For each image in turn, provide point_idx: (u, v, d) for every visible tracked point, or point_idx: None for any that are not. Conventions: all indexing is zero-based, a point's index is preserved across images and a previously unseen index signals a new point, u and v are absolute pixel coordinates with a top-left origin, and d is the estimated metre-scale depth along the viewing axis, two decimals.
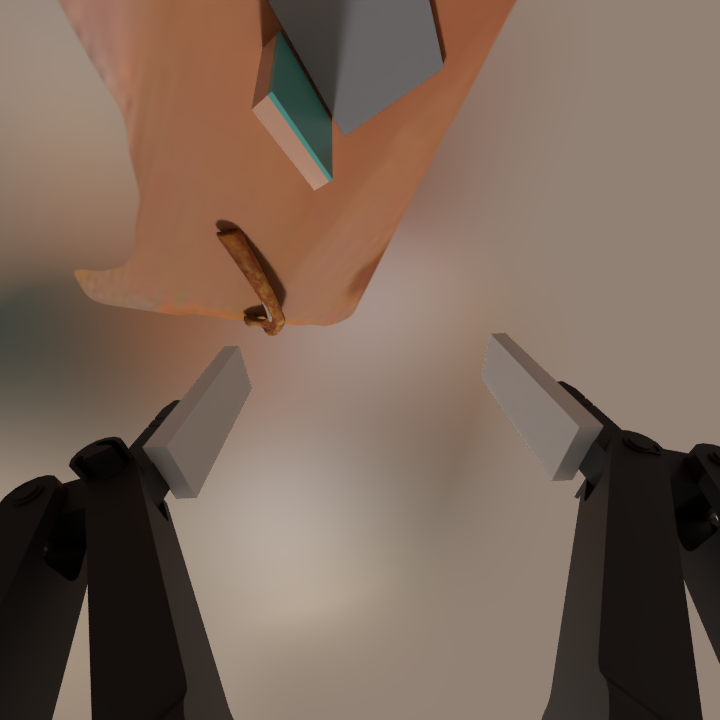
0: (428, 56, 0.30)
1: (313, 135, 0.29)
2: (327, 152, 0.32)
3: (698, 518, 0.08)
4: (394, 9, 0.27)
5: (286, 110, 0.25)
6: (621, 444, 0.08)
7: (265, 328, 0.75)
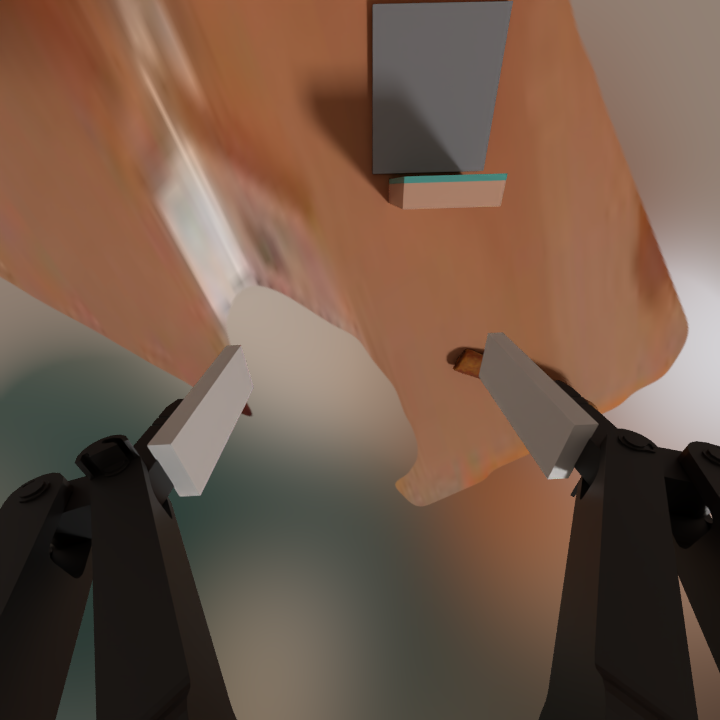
0: (491, 20, 0.26)
1: None
2: None
3: (693, 516, 0.08)
4: (438, 50, 0.27)
5: (423, 176, 0.24)
6: (616, 442, 0.08)
7: None
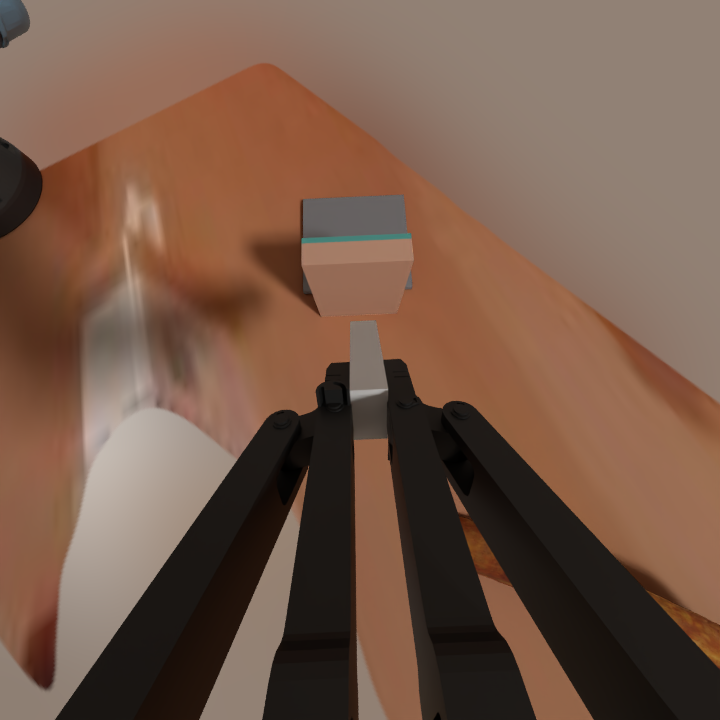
0: (390, 203, 0.36)
1: None
2: None
3: (463, 459, 0.10)
4: (353, 217, 0.35)
5: (322, 238, 0.23)
6: (396, 407, 0.10)
7: None
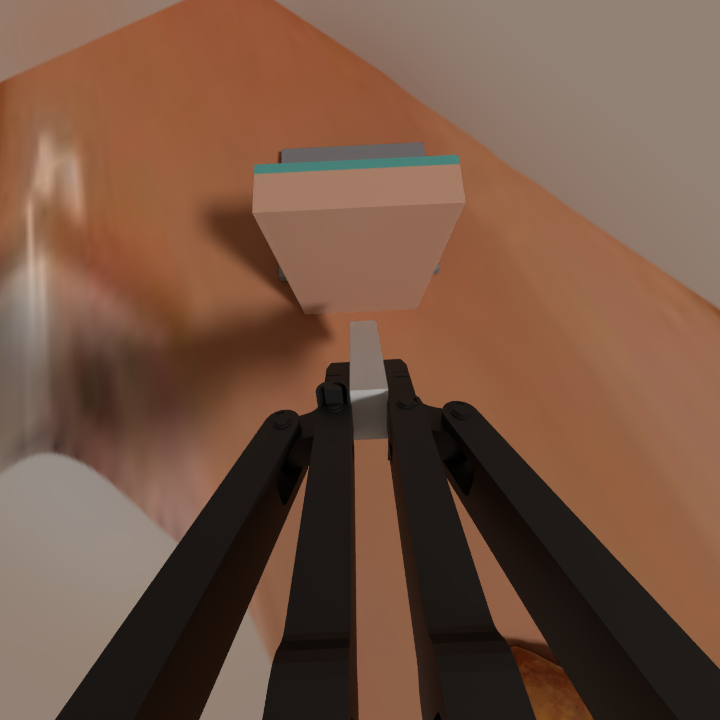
0: (405, 153, 0.25)
1: None
2: None
3: (463, 459, 0.10)
4: None
5: (293, 166, 0.12)
6: (396, 407, 0.10)
7: None
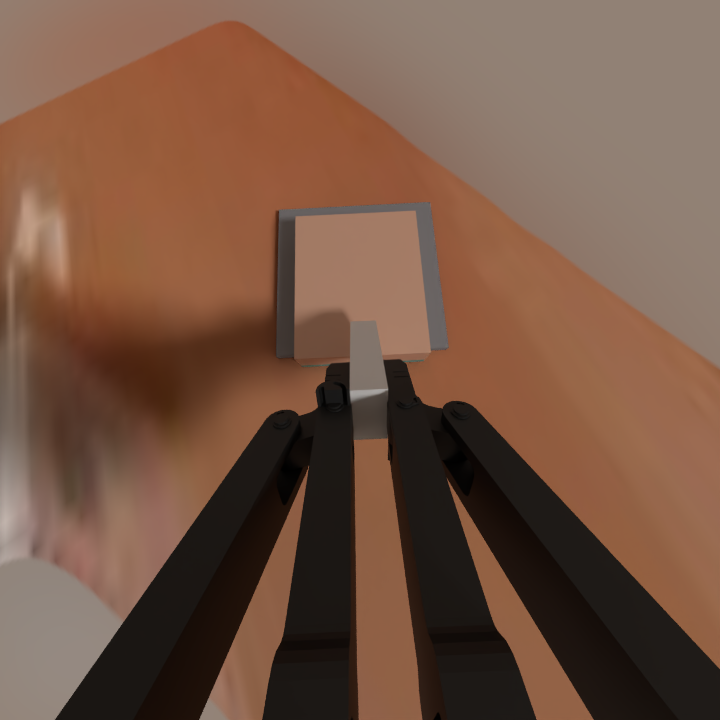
0: None
1: None
2: None
3: (463, 459, 0.10)
4: None
5: None
6: (395, 407, 0.10)
7: None
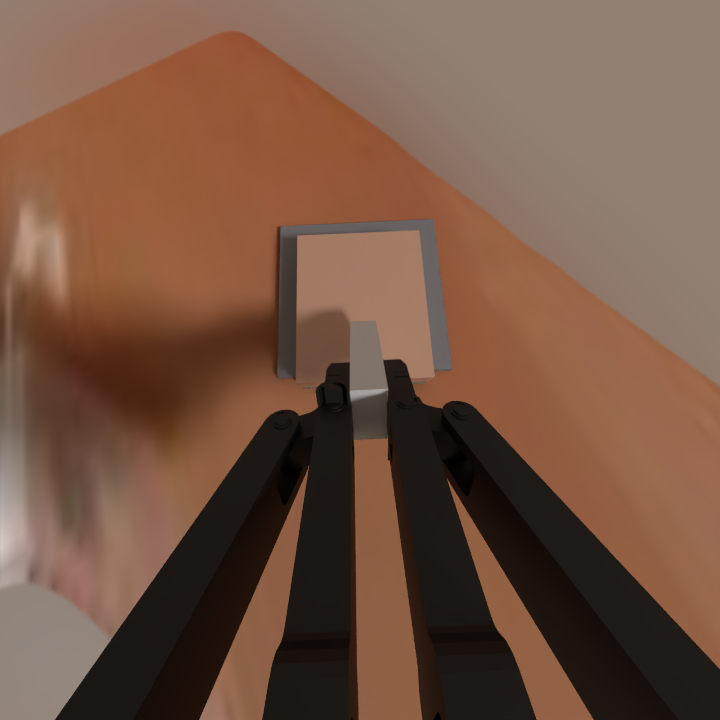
0: None
1: None
2: None
3: (463, 459, 0.10)
4: None
5: None
6: (395, 407, 0.10)
7: None
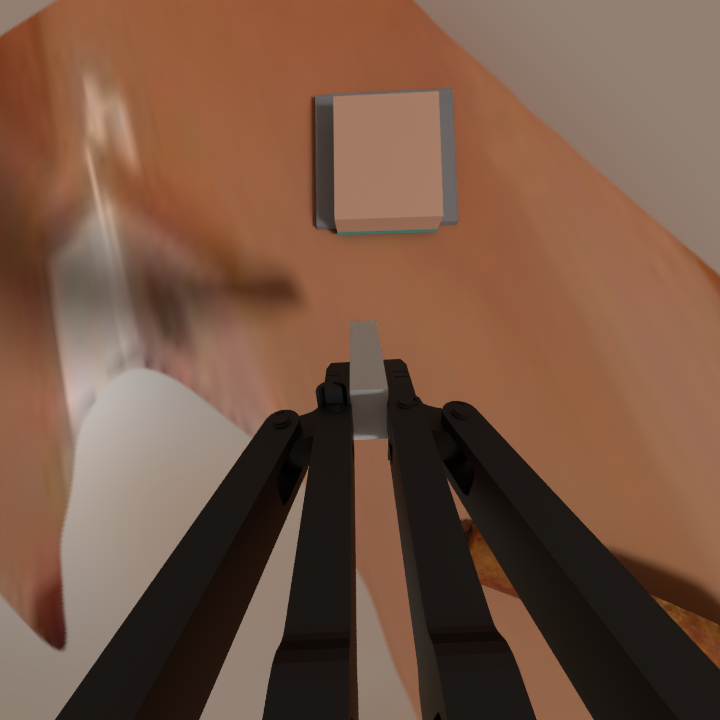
0: None
1: None
2: None
3: (463, 459, 0.10)
4: None
5: None
6: (396, 407, 0.10)
7: None
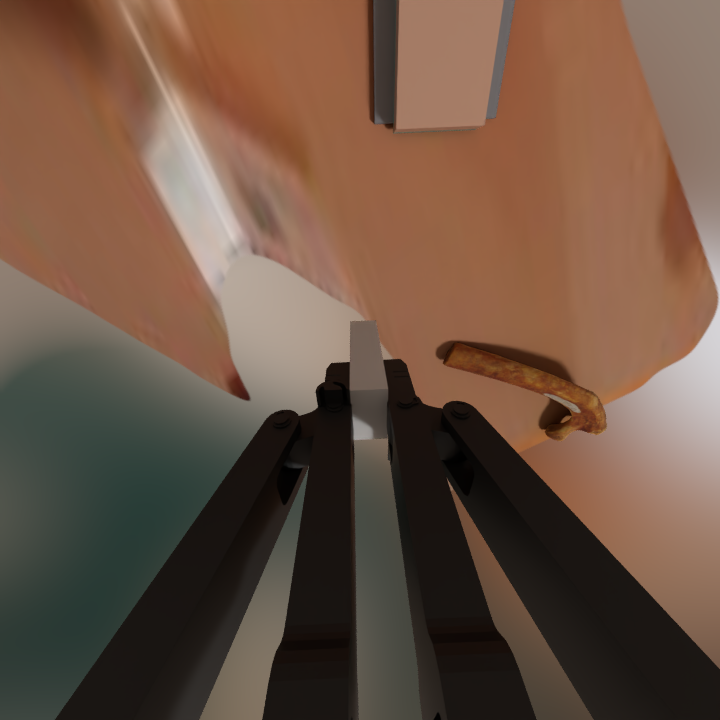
0: None
1: None
2: None
3: (463, 459, 0.10)
4: None
5: None
6: (396, 407, 0.10)
7: (583, 427, 0.50)
